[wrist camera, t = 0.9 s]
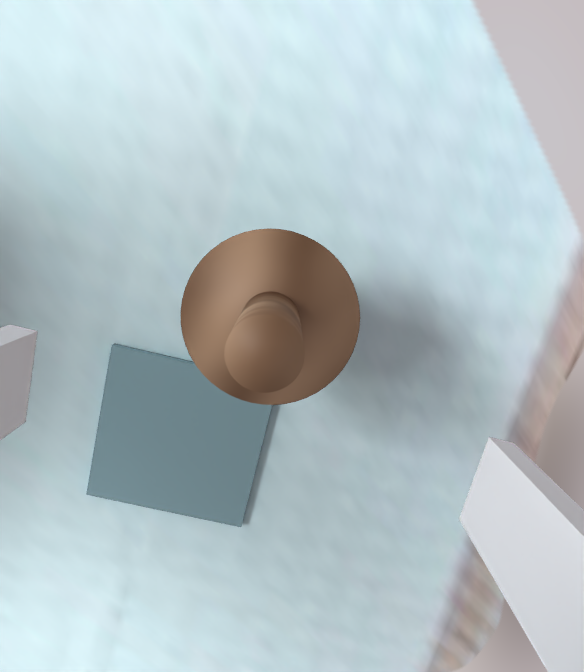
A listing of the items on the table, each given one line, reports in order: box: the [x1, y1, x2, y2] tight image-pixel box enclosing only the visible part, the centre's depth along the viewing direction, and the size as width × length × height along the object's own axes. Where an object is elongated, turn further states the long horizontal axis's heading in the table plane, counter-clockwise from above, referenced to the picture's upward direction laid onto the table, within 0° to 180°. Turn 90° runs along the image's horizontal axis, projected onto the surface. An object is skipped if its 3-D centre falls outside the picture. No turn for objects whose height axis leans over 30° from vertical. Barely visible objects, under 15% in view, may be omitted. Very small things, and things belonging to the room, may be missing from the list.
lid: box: [181, 229, 360, 405], centre depth 26 cm, size 11×11×9 cm
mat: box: [87, 344, 272, 527], centre depth 41 cm, size 14×14×1 cm
